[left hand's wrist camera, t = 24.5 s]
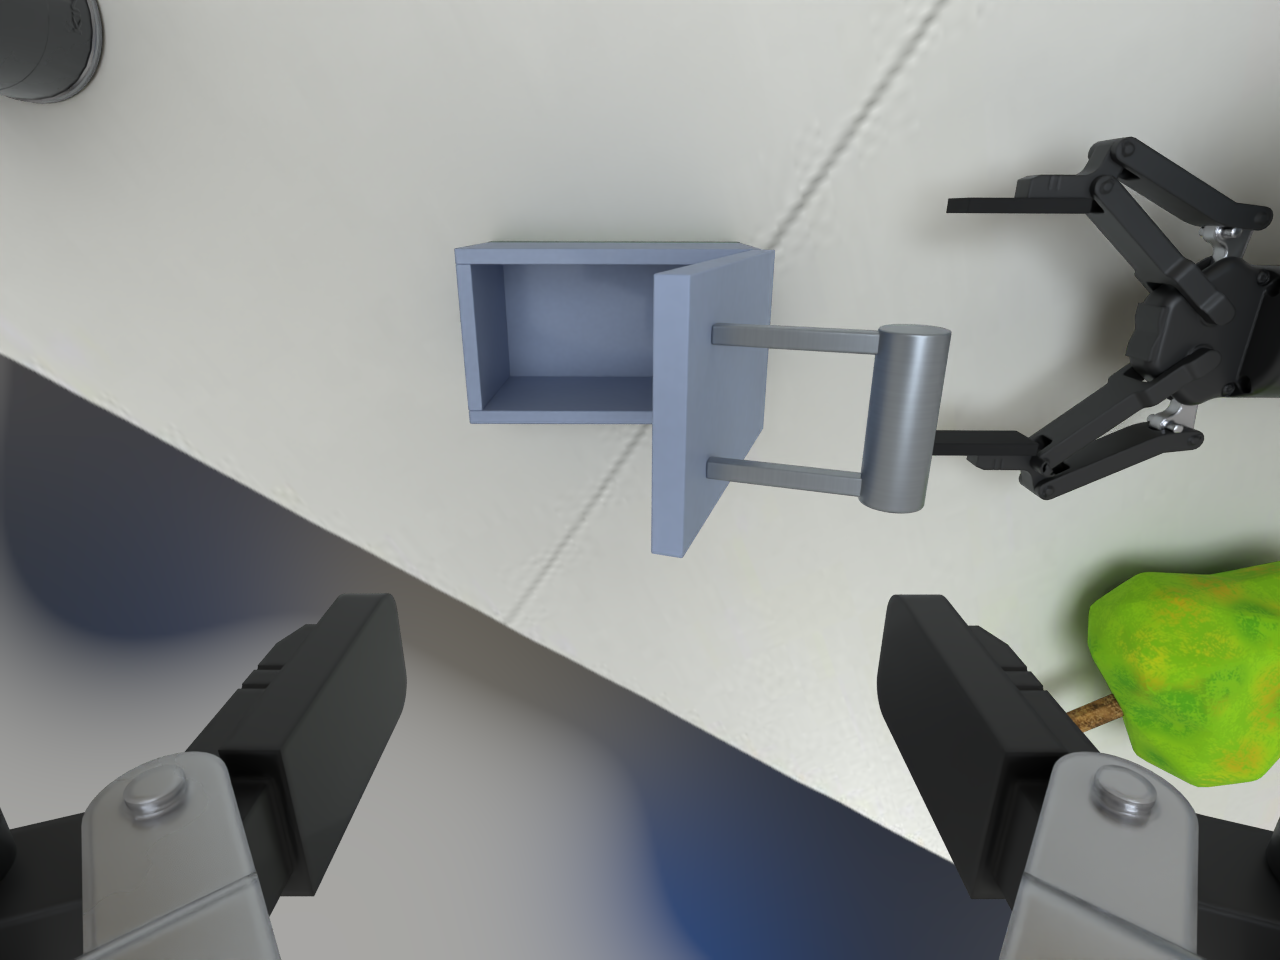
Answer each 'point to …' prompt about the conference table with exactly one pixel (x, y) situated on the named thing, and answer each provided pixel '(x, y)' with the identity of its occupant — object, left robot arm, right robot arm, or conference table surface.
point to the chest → (564, 327)
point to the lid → (735, 397)
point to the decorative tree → (1192, 671)
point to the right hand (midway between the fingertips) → (937, 331)
